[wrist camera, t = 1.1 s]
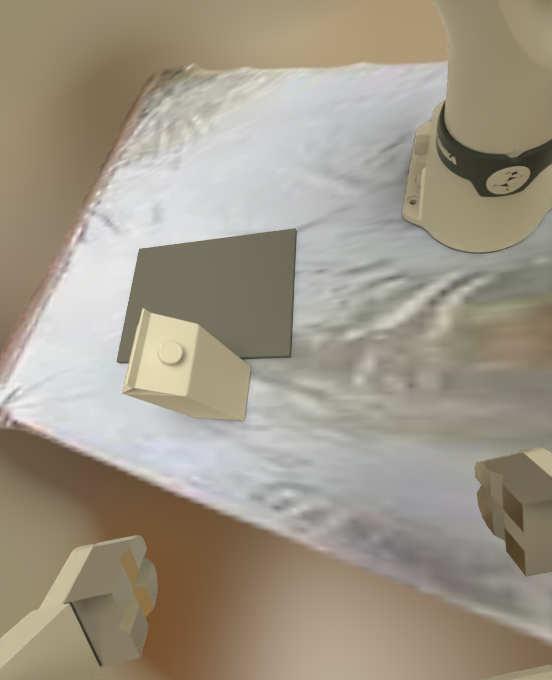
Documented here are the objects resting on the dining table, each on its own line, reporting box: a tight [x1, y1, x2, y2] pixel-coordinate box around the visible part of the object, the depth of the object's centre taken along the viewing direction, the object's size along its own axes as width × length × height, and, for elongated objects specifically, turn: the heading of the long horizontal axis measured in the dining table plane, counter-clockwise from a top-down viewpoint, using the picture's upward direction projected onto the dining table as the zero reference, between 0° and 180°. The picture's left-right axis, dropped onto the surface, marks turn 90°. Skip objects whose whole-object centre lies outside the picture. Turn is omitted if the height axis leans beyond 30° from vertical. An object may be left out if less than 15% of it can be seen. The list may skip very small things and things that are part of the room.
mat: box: [117, 229, 297, 363], centre depth 57 cm, size 19×26×1 cm
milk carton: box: [122, 308, 251, 421], centre depth 43 cm, size 7×7×19 cm
